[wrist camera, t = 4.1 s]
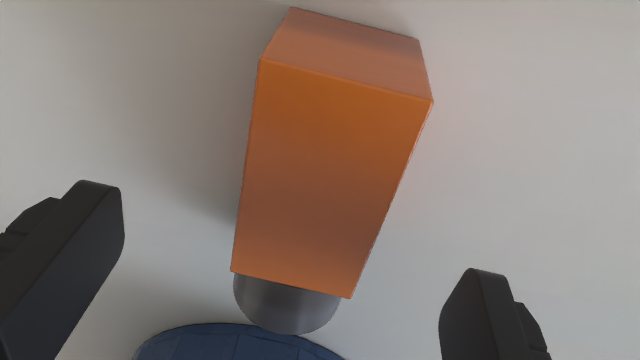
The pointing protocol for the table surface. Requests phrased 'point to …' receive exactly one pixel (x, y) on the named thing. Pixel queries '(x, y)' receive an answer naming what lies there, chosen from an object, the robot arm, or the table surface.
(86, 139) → the table surface
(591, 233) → the table surface
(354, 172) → the handle
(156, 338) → the tin
